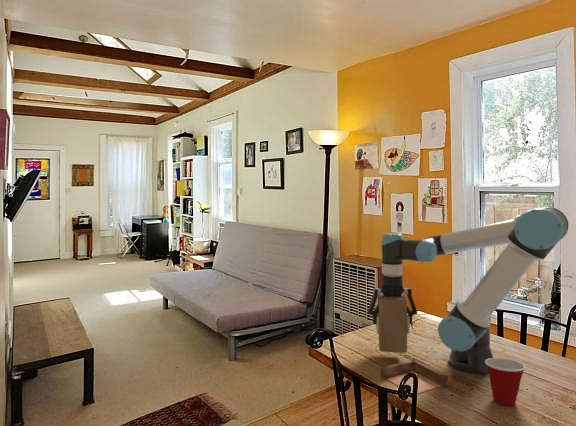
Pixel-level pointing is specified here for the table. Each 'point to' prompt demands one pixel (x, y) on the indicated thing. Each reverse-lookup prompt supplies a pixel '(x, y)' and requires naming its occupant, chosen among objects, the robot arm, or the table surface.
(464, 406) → the table surface
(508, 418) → the table surface
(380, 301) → the block
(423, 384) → the tile
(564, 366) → the table surface
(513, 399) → the plastic cup
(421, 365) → the arena
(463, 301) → the robot arm
